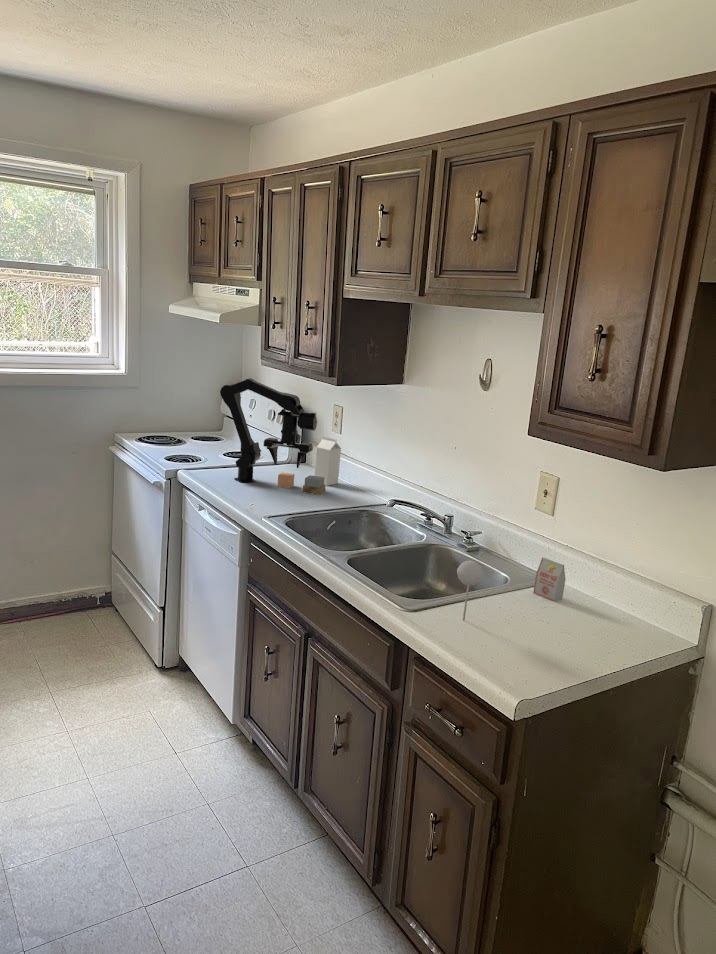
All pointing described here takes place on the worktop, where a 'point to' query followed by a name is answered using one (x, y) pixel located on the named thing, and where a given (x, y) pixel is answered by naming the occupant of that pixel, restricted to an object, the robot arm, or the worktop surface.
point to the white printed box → (550, 580)
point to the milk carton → (328, 461)
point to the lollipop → (469, 576)
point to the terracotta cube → (285, 480)
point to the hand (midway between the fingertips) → (286, 466)
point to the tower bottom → (314, 489)
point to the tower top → (314, 481)
